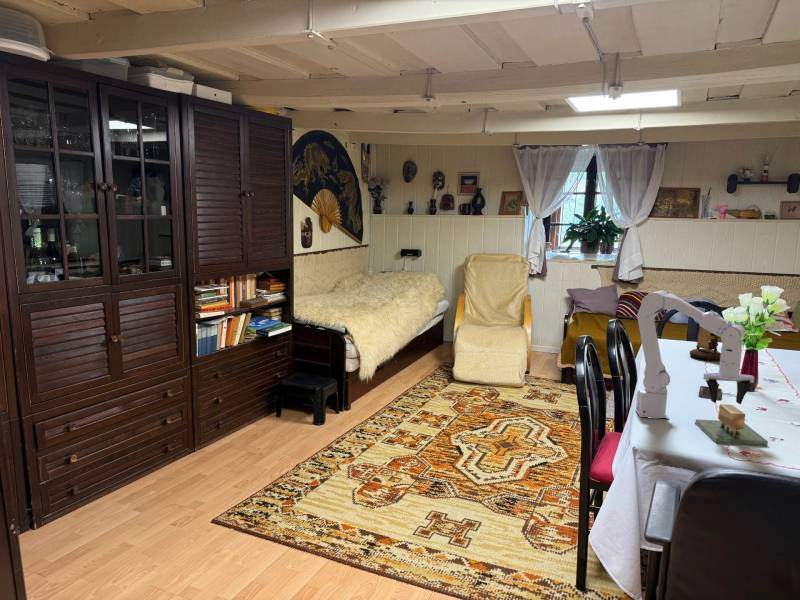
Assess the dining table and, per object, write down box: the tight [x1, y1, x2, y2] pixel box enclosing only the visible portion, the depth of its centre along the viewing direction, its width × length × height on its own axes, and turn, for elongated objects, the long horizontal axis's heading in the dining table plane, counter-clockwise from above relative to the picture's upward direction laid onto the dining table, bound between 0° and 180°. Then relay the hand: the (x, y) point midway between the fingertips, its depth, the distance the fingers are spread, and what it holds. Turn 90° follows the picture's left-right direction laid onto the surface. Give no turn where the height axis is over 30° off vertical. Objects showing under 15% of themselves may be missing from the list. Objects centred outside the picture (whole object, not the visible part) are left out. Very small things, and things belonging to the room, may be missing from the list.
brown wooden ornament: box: [689, 322, 721, 362], centre depth 285 cm, size 15×15×20 cm
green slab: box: [694, 418, 769, 447], centre depth 185 cm, size 15×17×4 cm
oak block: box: [717, 403, 746, 429], centre depth 184 cm, size 4×9×5 cm, turn 173°
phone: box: [698, 385, 723, 401], centre depth 228 cm, size 8×1×15 cm
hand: (726, 402), depth 187 cm, fingers open, 7 cm apart
